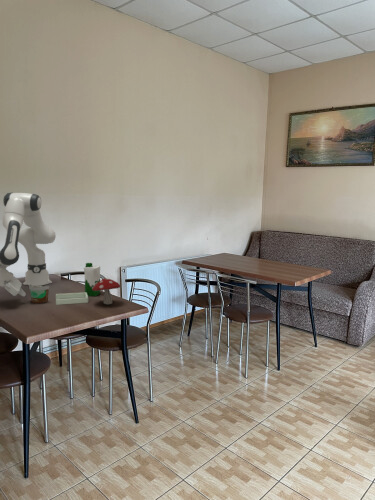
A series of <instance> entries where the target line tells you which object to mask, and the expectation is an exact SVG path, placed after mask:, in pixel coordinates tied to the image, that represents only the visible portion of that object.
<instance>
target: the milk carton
mask: <svg viewBox="0 0 375 500" xmlns="http://www.w3.org/2000/svg"><path fill="white" fill-rule="evenodd" d="M83 272H84V292H87V295H88V297H97V296H98V295H100V294H101V291H93V290H92V288H93V287H94V286H95V285H96V284H97V283H98V282H99V281H101V266H99V265H93V262H86V263H85V266H84V267H83Z"/></svg>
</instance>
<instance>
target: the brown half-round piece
mask: <svg viewBox="0 0 375 500" xmlns="http://www.w3.org/2000/svg"><path fill="white" fill-rule="evenodd" d="M28 290H29V292H30V298H31V303H32V304H39V305H40V304H46V303H48V302H49V292H50V285H49V284H47V285H45V286H44V285H40V286H31V284H30V285H28Z"/></svg>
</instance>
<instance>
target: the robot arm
mask: <svg viewBox="0 0 375 500" xmlns="http://www.w3.org/2000/svg"><path fill="white" fill-rule="evenodd" d="M3 206H4V210H3V215H2V226H3V227H4V228H5V229H6V234H5V235H6V237H5V241H4V246H3V247H2V248H1V249H0V287H1V288H4V289H5V290H7V292H8V293H10V294H11V296H13V297H15V296H17V295H20V296H22V297H25V296H27V295H26V294H27V293H26V292H25V291H24V290H23V288H22V285H25V286H30V284H31V286H44V285H45V286H47V285H49V284H52V283H53V282H52V279H50V276H49V271H48V270H47V263H46V253H45V251H44V250H43V249H41V248H39V247H38V246H37V245H47V244H53V243H54V242H55V240H56V238H57V237H56V235H57V234H56V232H55V230H54V229H52V228H50V227H49V226H48V225H47V224H46V223H45V222H44V221H43V218H42V216H41V211H40V210H41V206H42V198H41V196H39V195H38V194H35V193H28V192H27V193H26V192H7V193H6V194H5V195H4V196H3ZM23 224H24V225H25V226H27V227H23V228H22V226H23ZM18 243H19V244H20V245H22V246H23V247H24V249H25V251H26V254H27V262H28V263H27V270H26V271H25V280H24V282H21V281H20V280H19V279H18V278H17V277H16V276H15V275H14V273H13V272H11V271H9V270H8V269H7V268H8V267H10V266H12V265H14V264H16V263H17V262H18V261H19V259H20V252H19V249H18V245H19V244H18Z"/></svg>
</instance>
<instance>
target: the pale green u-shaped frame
mask: <svg viewBox="0 0 375 500" xmlns="http://www.w3.org/2000/svg"><path fill="white" fill-rule="evenodd" d="M86 303H89V296H88V295H87V292H85V291H84V292H69V293H56V294H55V305H56V306H57V305H58V306H59V305H70V304H71V305H72V304H86Z"/></svg>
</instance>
